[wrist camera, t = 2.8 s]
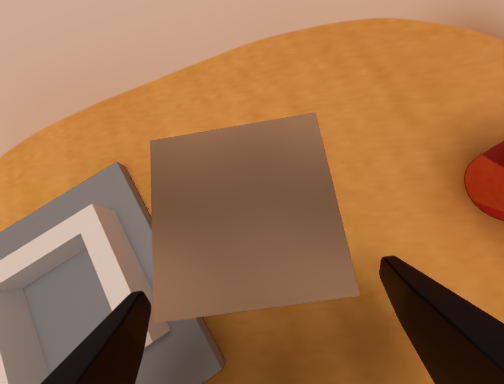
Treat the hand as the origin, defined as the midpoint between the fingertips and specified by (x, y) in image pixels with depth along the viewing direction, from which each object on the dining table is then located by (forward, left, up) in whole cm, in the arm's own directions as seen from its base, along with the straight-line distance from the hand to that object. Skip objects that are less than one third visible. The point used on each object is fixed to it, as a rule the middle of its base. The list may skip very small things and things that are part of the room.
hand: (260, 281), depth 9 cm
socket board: (-4, +14, -10) cm, 17 cm away
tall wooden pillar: (+2, +1, -10) cm, 10 cm away
